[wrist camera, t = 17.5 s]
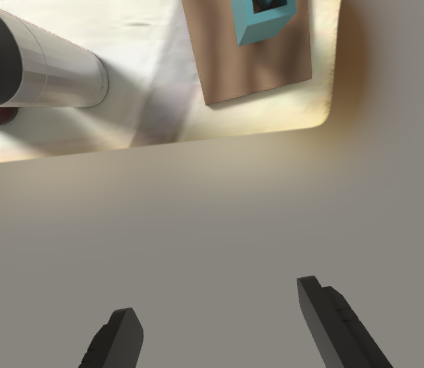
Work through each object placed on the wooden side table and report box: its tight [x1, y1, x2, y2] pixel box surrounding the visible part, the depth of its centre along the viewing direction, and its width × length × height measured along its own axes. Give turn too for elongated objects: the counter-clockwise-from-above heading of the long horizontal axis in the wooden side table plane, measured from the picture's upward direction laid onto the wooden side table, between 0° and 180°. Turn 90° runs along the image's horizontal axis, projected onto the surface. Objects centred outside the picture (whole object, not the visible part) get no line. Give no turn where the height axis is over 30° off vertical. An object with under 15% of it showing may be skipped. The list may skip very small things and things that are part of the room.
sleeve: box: [231, 0, 297, 47], centre depth 25 cm, size 5×5×8 cm
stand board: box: [182, 0, 312, 105], centre depth 32 cm, size 18×18×2 cm
